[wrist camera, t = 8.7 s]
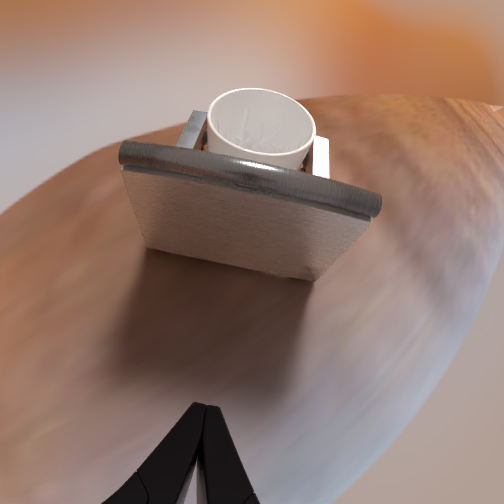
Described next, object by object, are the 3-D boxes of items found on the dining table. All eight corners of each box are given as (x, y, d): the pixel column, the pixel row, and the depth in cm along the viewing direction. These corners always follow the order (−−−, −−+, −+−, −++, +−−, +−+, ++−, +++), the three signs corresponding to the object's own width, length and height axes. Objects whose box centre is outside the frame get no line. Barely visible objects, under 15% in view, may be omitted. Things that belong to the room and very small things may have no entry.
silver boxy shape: (315, 286, 25) (389, 212, 14) (145, 252, 24) (109, 153, 13) (320, 164, 32) (362, 77, 21) (189, 136, 31) (191, 40, 20)
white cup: (271, 162, 31) (294, 87, 22) (295, 224, 28) (333, 153, 19) (198, 170, 29) (200, 90, 20) (212, 238, 26) (218, 161, 17)
